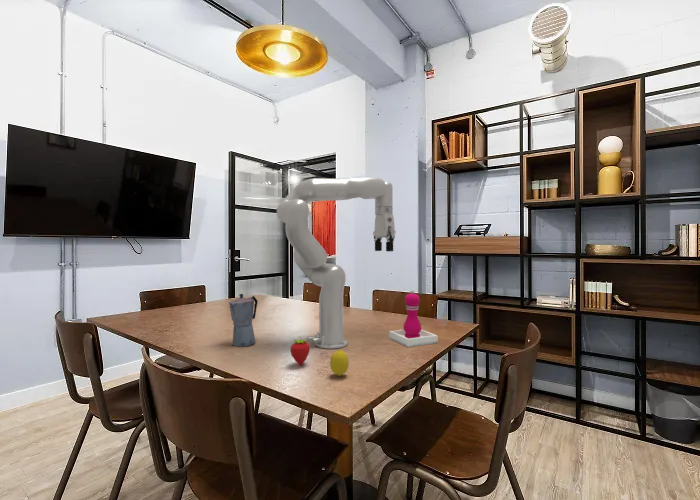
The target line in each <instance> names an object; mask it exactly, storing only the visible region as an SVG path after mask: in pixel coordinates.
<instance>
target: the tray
mask: <svg viewBox="0 0 700 500" xmlns="http://www.w3.org/2000/svg"><path fill="white" fill-rule="evenodd" d="M405 333H406V332H405V331H404V329H397V330H389V331H388V339H390V340H392V341H393V342H396V343H398V344H400V345H402V346H404V347H406V348H413V347H418V346H425V345H433V344H438V343H439V342H438V341H439V339H438V338H439V337H438V335H437V334H434V333H432V332H430V331H427V330H425V329H421V331H420V332H419V334H420V337H417V338H410V339H408V338H406V337H405Z"/></svg>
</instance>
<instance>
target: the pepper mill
mask: <svg viewBox="0 0 700 500" xmlns="http://www.w3.org/2000/svg"><path fill="white" fill-rule="evenodd" d="M420 300H421V299H420V297H419V295H418V294H417V293H415V290H414V289H410V291H409V293H408V294H406V295H405V297H404V303H405V304H406V305H405V309H406V312H407V313H406V314H407V316H406V319H405V321H404V323H403V329H404V331H405V332H406V333H405V337H406V338H408V339H410V338H417V337H420V334H419V332H420V331H421V330H422V325H421V324H422V323H421V322H420V320H419V316H418V310H419V304H420V302H421V301H420ZM403 329H402V330H403Z"/></svg>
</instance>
